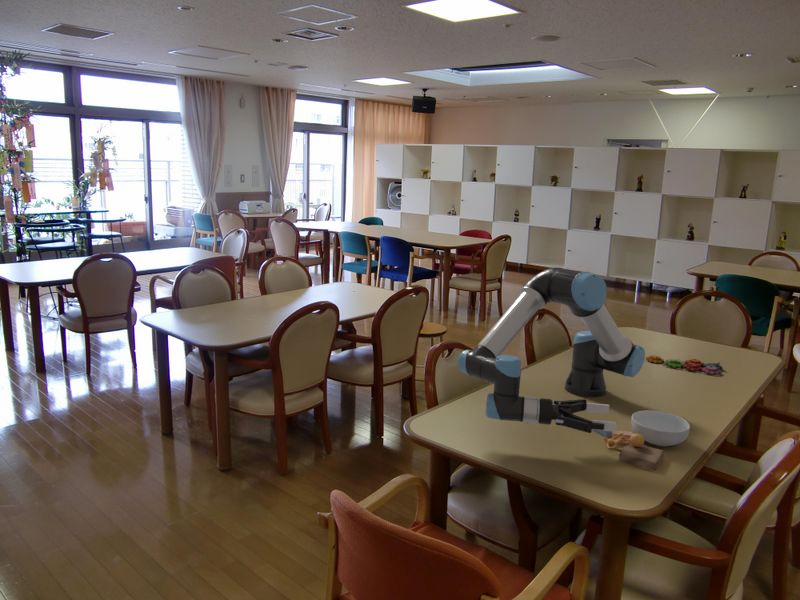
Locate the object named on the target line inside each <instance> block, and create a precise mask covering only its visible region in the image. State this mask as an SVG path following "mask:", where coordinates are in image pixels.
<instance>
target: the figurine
mask: <svg viewBox="0 0 800 600" xmlns="http://www.w3.org/2000/svg"><path fill="white" fill-rule="evenodd" d="M622 434H623V433H621V434H619V435H617V436H615V437H613V438H611V437H608V438H606V437H604V436H603V438H602V439H603V441H604V443H605V446H606V448H607V449H616V446H617V445H620V444H625V445H626V444H627V443H631V444H632V445H633V446H635V447H640V446H642V445H644V444H645V440H644V438H643V436H642V435H641V434H638V433H635V432H634V433H633V435H632V436H631V437H630V439H628V440H627V439H626V438H625V437H624V436H621V437H620V438H618V439H616V440H614V439H615V438H617V437H618V436H620V435H622ZM622 439H624V440H625V441H628V442H625V441H623V440H622ZM621 442H623V443H621ZM615 445H616V446H615Z"/></svg>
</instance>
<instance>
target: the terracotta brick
mask: <svg viewBox="0 0 800 600" xmlns="http://www.w3.org/2000/svg"><path fill="white" fill-rule="evenodd" d="M621 433H623V434H622V435H620V436H618V437H617V438H615V439H614V440H616V439H618V438H620V437H621V436H624V437H625V438H626V439H627V440H628V439H630V437H631V436H632V435H633V434H634V433H633V432H632V431H627V430H626V431H625V430H617V429H616V432H612V436H611V437H610V438H613V437H615V436H617V435H619V434H621ZM622 440H623V441H625V440H624V439H622ZM625 442H628V441H625ZM620 444H624V443H623V442H621V443H620Z"/></svg>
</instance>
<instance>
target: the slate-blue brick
mask: <svg viewBox="0 0 800 600" xmlns="http://www.w3.org/2000/svg"><path fill="white" fill-rule="evenodd" d="M592 432H594V433H596V434H598V435H600V436H602V437H603V438H604V437H605V438H608V439H609V438H611V436H612V431H602V430H592Z"/></svg>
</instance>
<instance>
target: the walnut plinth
mask: <svg viewBox="0 0 800 600" xmlns="http://www.w3.org/2000/svg"><path fill="white" fill-rule="evenodd" d="M618 455H619V456H618V461H619V462H622V463H625V464H628V465H631V466H635V467H639V468H643V469H647V470H650V471H656V470H657V468H658V466H659V465H660V463H661V461H662V459H663V456H664V450H663V449H659V448H655V447H651V446H648V445H644V444H643V445H642V446H640V447H635V446H633V445H632V444H631V443H627V444H625V445H624V447H623V448H622V449H621V450H620V452H619V454H618Z"/></svg>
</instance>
